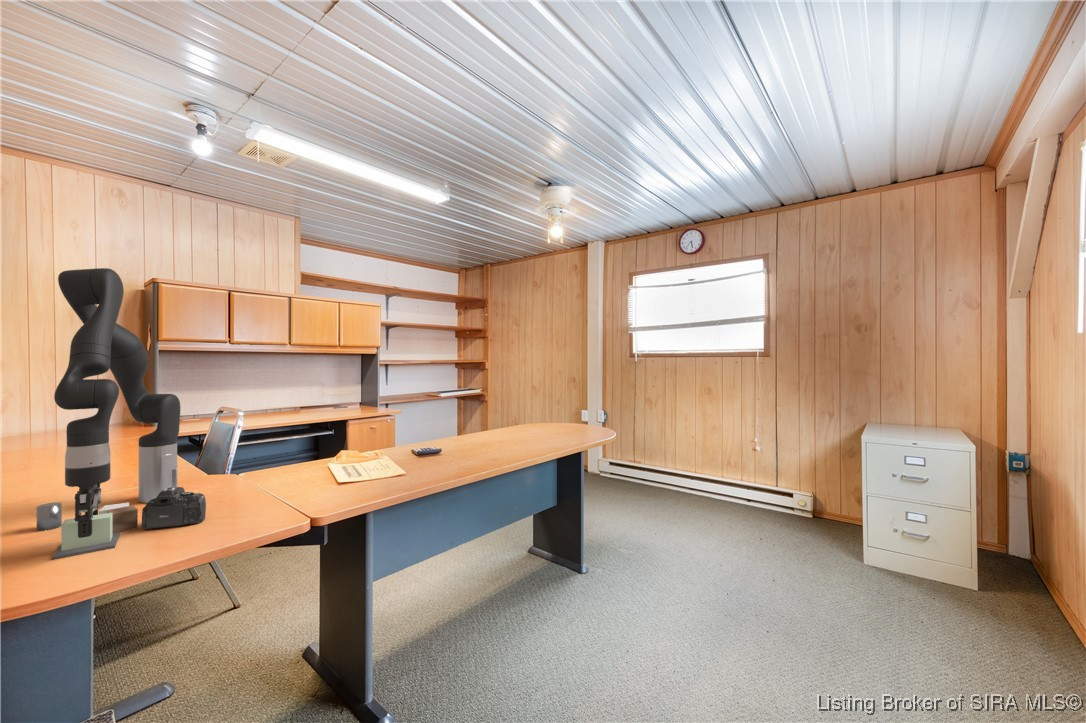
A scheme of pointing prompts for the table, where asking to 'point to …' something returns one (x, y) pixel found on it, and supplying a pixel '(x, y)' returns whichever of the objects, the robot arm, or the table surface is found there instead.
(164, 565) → the table surface
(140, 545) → the table surface
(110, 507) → the grey box
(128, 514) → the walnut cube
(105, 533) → the sage block
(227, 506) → the table surface
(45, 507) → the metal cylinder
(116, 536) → the mat
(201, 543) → the table surface
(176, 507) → the camera
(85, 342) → the robot arm
